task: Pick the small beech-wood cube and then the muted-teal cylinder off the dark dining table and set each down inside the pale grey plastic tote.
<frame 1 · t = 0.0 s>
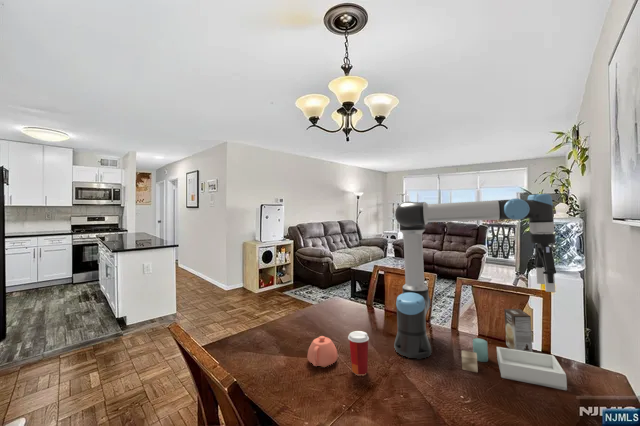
hand: (545, 287, 106), 28 cm above the table, fingers open, 13 cm apart
beech cube: (469, 367, 102), on the table
coffee box: (519, 351, 114), on the table
teal cylinder: (480, 358, 108), on the table
paper cup: (359, 372, 102), on the table
tote: (528, 373, 97), on the table
sugar bowl: (321, 363, 109), on the table
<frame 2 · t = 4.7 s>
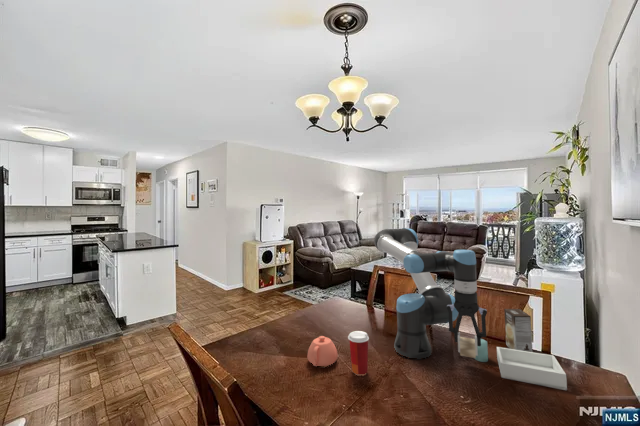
hand: (467, 352, 103), 5 cm above the table, fingers closed on beech cube, 5 cm apart
beech cube: (467, 353, 103), point 5 cm above the table, touching gripper
everything else where it was.
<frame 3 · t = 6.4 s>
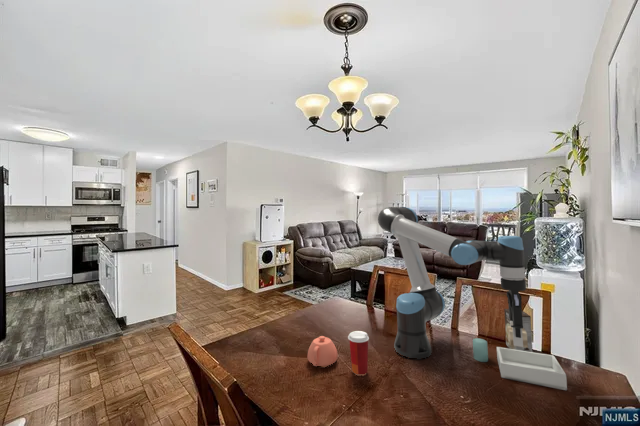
hand: (516, 342, 99), 10 cm above the table, fingers closed on beech cube, 5 cm apart
beech cube: (517, 343, 99), point 10 cm above the table, touching gripper
everything else where it was.
when the fingers open (1 cm above the table, at t = 8.3 s): beech cube stays where it is, resting on tote.
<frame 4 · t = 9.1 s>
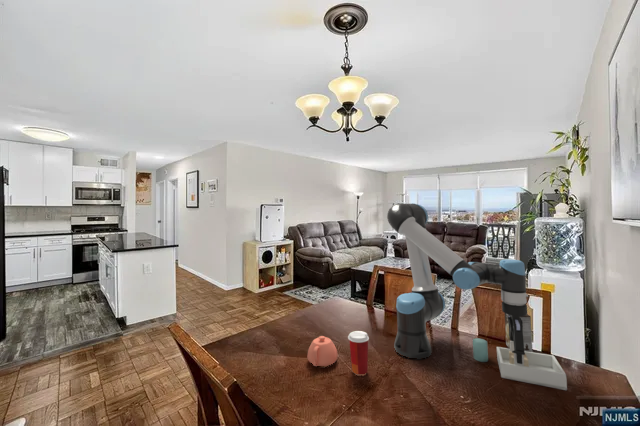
hand: (517, 365, 99), 2 cm above the table, fingers open, 9 cm apart
beech cube: (519, 369, 98), point 1 cm above the table, touching tote
everything else where it was.
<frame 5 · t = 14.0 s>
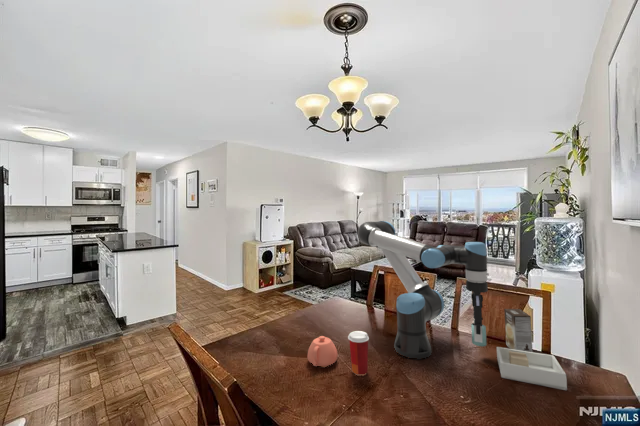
hand: (478, 338, 109), 8 cm above the table, fingers closed on teal cylinder, 5 cm apart
teal cylinder: (479, 343, 109), point 6 cm above the table, touching gripper
everything else where it was.
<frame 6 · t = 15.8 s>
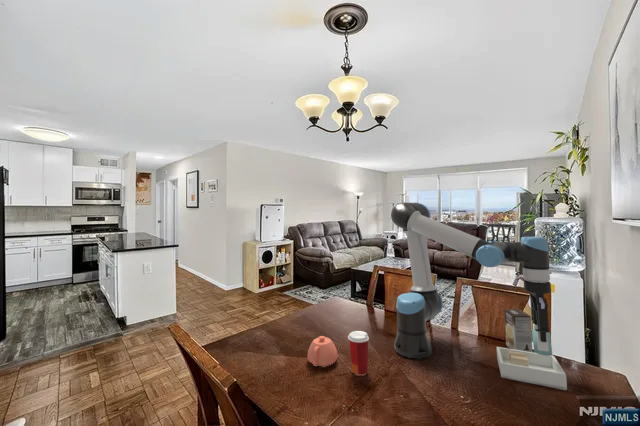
hand: (541, 346, 95), 10 cm above the table, fingers closed on teal cylinder, 5 cm apart
teal cylinder: (542, 352, 95), point 8 cm above the table, touching gripper
everything else where it was.
when the fingers open (1 cm above the table, at t = 17.6 s): teal cylinder stays where it is, resting on tote.
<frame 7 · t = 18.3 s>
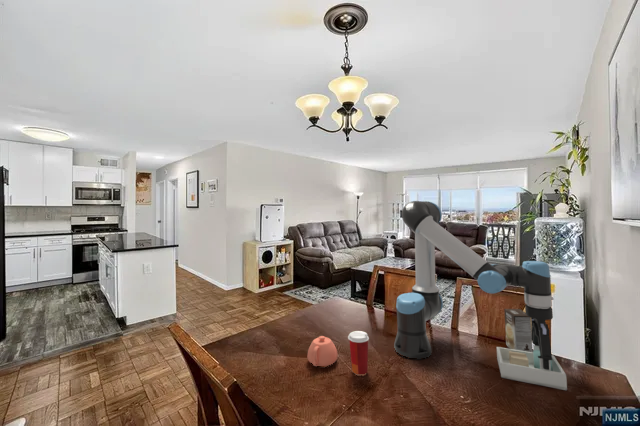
hand: (542, 370, 95), 2 cm above the table, fingers open, 9 cm apart
teal cylinder: (543, 373, 95), point 1 cm above the table, touching tote
everything else where it was.
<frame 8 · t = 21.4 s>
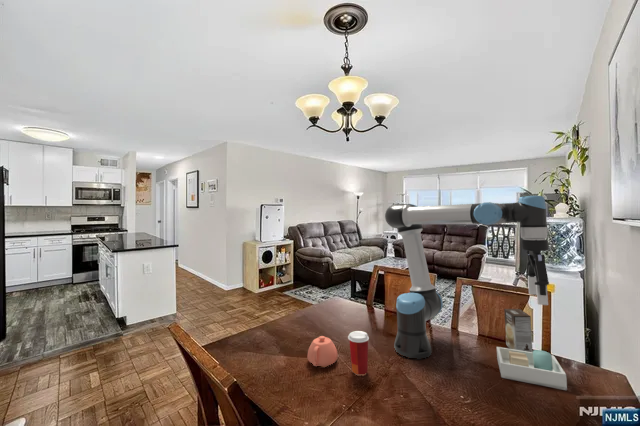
hand: (537, 299, 96), 27 cm above the table, fingers open, 13 cm apart
nothing on the table moved.
at the end: beech cube inside the target area on the tote (2.7 cm from its centre), point 0.8 cm above the tote's base; teal cylinder inside the target area on the tote (4.3 cm from its centre), point 0.9 cm above the tote's base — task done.
